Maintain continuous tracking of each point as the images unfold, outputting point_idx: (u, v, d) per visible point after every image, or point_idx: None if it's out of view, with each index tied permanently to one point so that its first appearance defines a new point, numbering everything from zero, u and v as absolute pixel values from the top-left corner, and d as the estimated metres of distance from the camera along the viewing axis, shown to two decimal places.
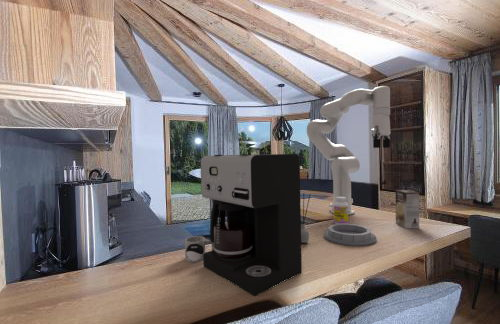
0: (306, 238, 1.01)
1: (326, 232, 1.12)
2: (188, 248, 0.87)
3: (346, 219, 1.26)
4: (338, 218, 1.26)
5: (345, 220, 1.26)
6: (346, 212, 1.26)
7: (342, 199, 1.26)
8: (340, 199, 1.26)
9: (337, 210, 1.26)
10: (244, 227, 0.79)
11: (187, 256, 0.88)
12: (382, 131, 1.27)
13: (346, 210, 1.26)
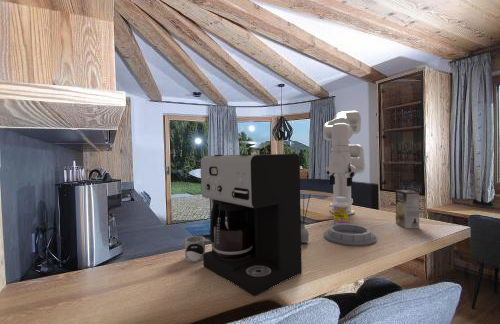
0: (306, 238, 1.01)
1: (326, 232, 1.12)
2: (188, 248, 0.87)
3: (346, 219, 1.26)
4: (338, 218, 1.26)
5: (345, 220, 1.26)
6: (346, 212, 1.26)
7: (342, 199, 1.26)
8: (340, 199, 1.26)
9: (337, 210, 1.26)
10: (244, 227, 0.79)
11: (187, 256, 0.88)
12: None
13: (346, 210, 1.26)
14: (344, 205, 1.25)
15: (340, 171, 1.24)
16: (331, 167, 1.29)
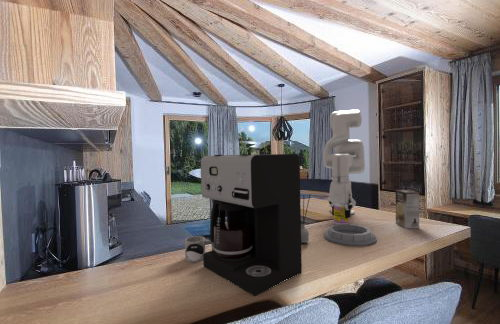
0: (306, 238, 1.01)
1: (326, 232, 1.12)
2: (188, 248, 0.87)
3: (346, 219, 1.26)
4: (338, 218, 1.26)
5: (345, 220, 1.26)
6: None
7: None
8: None
9: (337, 210, 1.26)
10: (244, 227, 0.79)
11: (187, 256, 0.88)
12: None
13: None
14: (344, 205, 1.25)
15: (340, 202, 1.25)
16: (331, 197, 1.29)
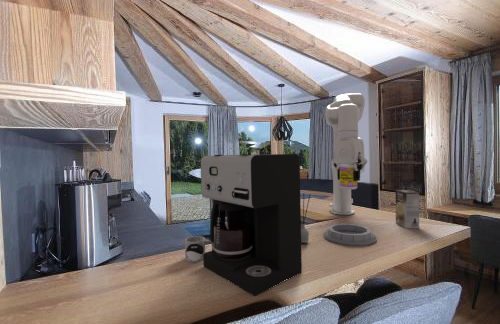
0: (306, 238, 1.01)
1: (326, 232, 1.12)
2: (188, 248, 0.87)
3: (355, 182, 1.05)
4: (345, 181, 1.05)
5: (353, 183, 1.04)
6: None
7: None
8: None
9: (344, 171, 1.05)
10: (244, 227, 0.79)
11: (187, 256, 0.88)
12: None
13: None
14: (352, 165, 1.04)
15: (348, 161, 1.04)
16: (337, 157, 1.08)
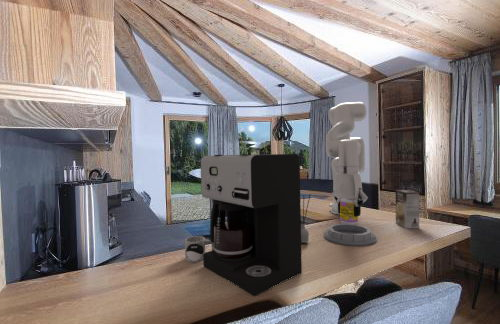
0: (306, 238, 1.01)
1: (326, 232, 1.12)
2: (188, 248, 0.87)
3: (355, 217, 1.05)
4: (346, 216, 1.05)
5: (354, 218, 1.05)
6: None
7: None
8: None
9: (345, 206, 1.05)
10: (244, 227, 0.79)
11: (187, 256, 0.88)
12: None
13: None
14: None
15: (349, 197, 1.04)
16: (337, 191, 1.08)
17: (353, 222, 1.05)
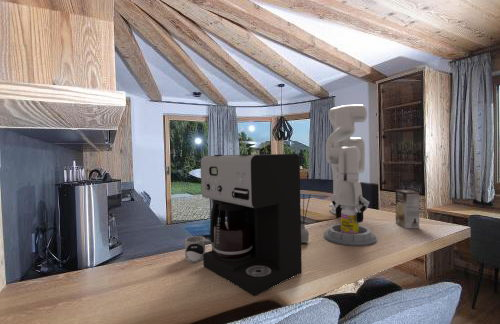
0: (306, 238, 1.01)
1: (326, 232, 1.12)
2: (188, 248, 0.87)
3: (356, 230, 1.05)
4: (346, 228, 1.05)
5: (355, 231, 1.05)
6: (356, 221, 1.05)
7: None
8: None
9: (346, 219, 1.05)
10: (244, 227, 0.79)
11: (187, 256, 0.88)
12: None
13: (356, 219, 1.05)
14: (354, 213, 1.05)
15: (349, 204, 1.04)
16: (338, 198, 1.09)
17: None
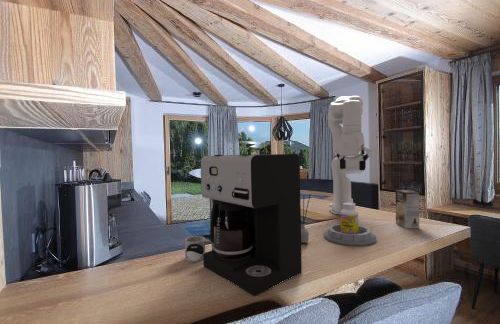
0: (306, 238, 1.01)
1: (326, 232, 1.12)
2: (188, 248, 0.87)
3: (356, 230, 1.05)
4: (346, 228, 1.05)
5: (354, 231, 1.05)
6: (355, 221, 1.05)
7: (351, 206, 1.05)
8: (348, 206, 1.05)
9: (345, 219, 1.05)
10: (244, 227, 0.79)
11: (187, 256, 0.88)
12: None
13: (355, 218, 1.05)
14: (353, 213, 1.05)
15: (352, 154, 1.12)
16: (342, 149, 1.16)
17: None
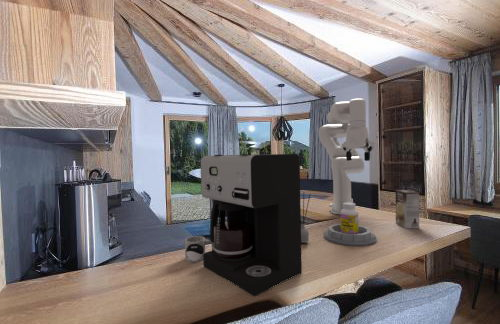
0: (306, 238, 1.01)
1: (326, 232, 1.12)
2: (188, 248, 0.87)
3: (356, 230, 1.05)
4: (346, 228, 1.05)
5: (354, 231, 1.05)
6: (355, 221, 1.05)
7: (351, 206, 1.05)
8: (348, 206, 1.06)
9: (345, 219, 1.06)
10: (244, 227, 0.79)
11: (187, 256, 0.88)
12: None
13: (355, 218, 1.05)
14: (353, 213, 1.05)
15: (358, 146, 1.26)
16: (348, 143, 1.30)
17: None
